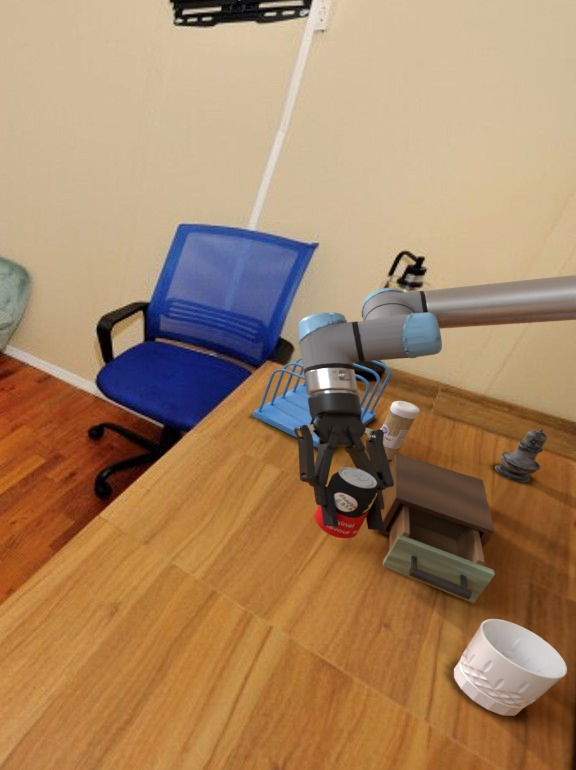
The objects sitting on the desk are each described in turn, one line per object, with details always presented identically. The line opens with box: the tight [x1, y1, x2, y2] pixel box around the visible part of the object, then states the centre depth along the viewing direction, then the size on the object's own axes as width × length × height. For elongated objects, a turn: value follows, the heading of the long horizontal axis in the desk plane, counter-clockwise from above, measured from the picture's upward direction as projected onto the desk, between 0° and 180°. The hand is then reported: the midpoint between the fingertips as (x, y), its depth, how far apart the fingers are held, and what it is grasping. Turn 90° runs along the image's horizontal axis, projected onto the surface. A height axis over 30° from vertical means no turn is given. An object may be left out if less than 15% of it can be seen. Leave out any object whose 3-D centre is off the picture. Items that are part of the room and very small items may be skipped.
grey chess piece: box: [494, 428, 548, 483], centre depth 106 cm, size 6×6×12 cm
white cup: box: [453, 618, 568, 717], centre depth 68 cm, size 8×8×10 cm
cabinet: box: [376, 452, 495, 550], centre depth 95 cm, size 16×13×9 cm
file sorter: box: [252, 357, 392, 448], centre depth 124 cm, size 25×17×15 cm
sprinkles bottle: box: [380, 400, 421, 461], centre depth 112 cm, size 5×5×14 cm
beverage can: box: [314, 466, 377, 539], centre depth 88 cm, size 6×6×12 cm
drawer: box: [382, 503, 496, 604], centre depth 86 cm, size 19×12×7 cm, turn 141°
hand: (353, 527), depth 86 cm, fingers closed on beverage can, 6 cm apart
